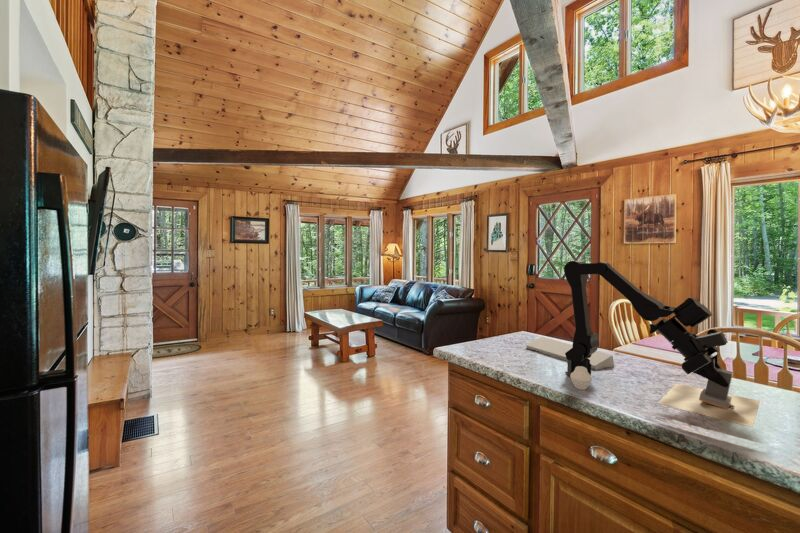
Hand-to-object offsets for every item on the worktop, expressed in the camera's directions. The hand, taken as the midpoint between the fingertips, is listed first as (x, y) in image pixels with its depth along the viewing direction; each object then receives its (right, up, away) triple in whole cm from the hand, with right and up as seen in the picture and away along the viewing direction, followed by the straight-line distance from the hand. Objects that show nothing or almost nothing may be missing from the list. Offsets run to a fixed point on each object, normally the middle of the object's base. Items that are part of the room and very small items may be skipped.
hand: (728, 385), depth 101 cm
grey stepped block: (-2, -5, +2) cm, 6 cm away
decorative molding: (-20, -6, +53) cm, 57 cm away
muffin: (-31, -7, +18) cm, 36 cm away
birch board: (-3, -7, +3) cm, 8 cm away
